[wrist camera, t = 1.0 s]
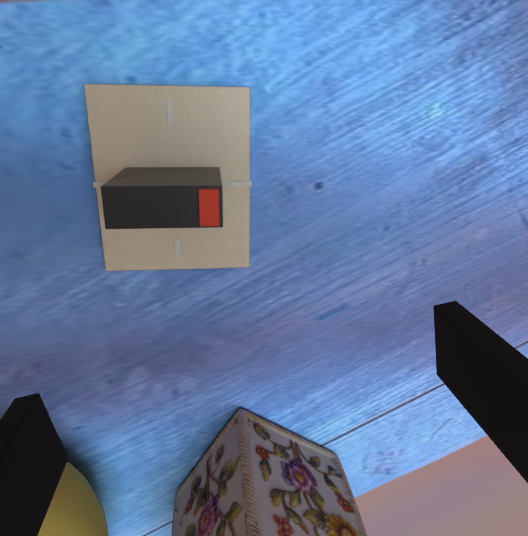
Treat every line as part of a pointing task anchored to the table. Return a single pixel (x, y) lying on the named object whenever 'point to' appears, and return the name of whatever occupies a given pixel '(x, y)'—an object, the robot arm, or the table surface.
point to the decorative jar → (265, 487)
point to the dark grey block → (163, 198)
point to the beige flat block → (174, 155)
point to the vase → (74, 508)
